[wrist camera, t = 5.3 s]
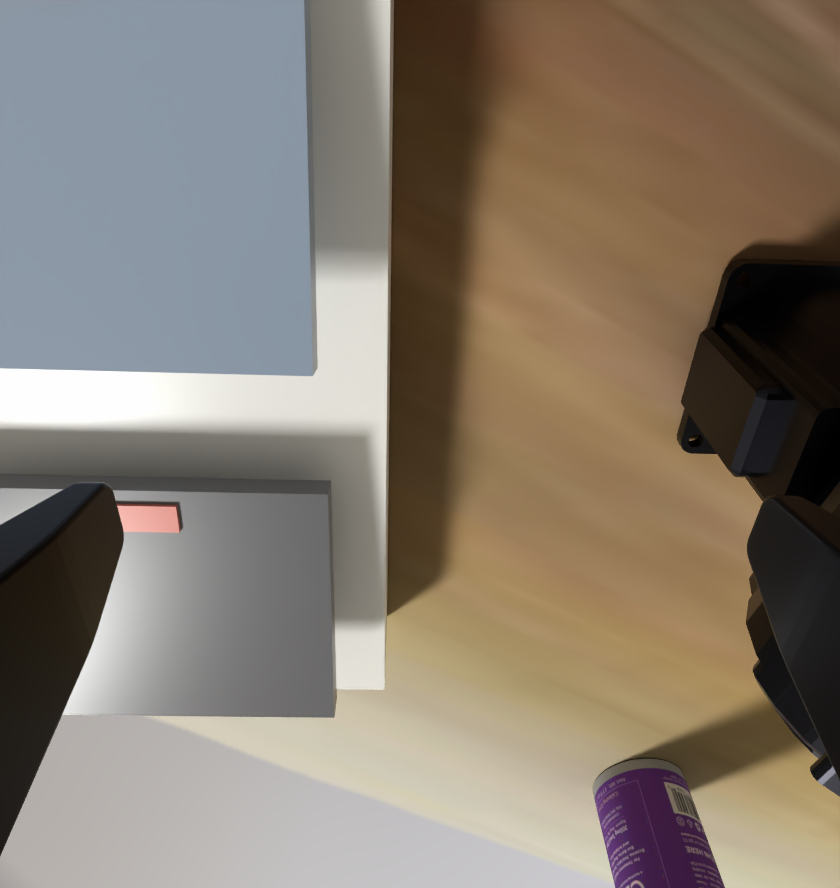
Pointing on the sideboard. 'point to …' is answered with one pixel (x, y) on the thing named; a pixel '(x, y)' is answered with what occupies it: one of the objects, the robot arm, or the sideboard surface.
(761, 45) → the sideboard surface
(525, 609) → the sideboard surface
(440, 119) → the sideboard surface
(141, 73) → the plate
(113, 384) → the white long base
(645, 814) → the container
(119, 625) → the rocker charcoal
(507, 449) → the sideboard surface
